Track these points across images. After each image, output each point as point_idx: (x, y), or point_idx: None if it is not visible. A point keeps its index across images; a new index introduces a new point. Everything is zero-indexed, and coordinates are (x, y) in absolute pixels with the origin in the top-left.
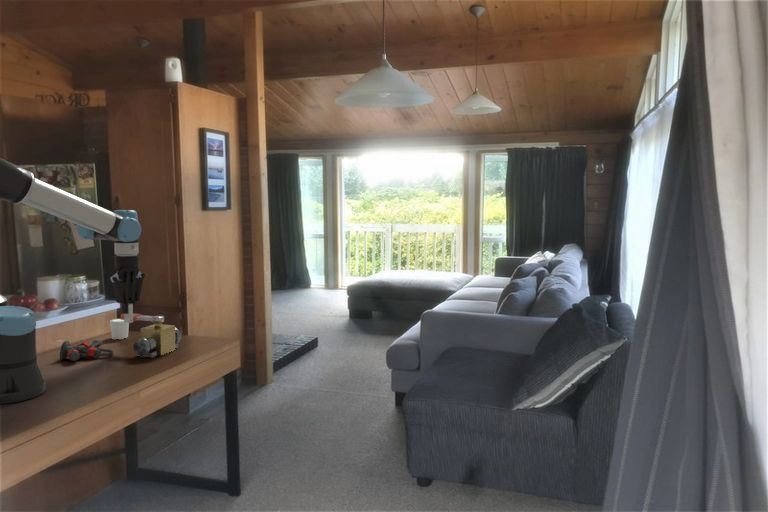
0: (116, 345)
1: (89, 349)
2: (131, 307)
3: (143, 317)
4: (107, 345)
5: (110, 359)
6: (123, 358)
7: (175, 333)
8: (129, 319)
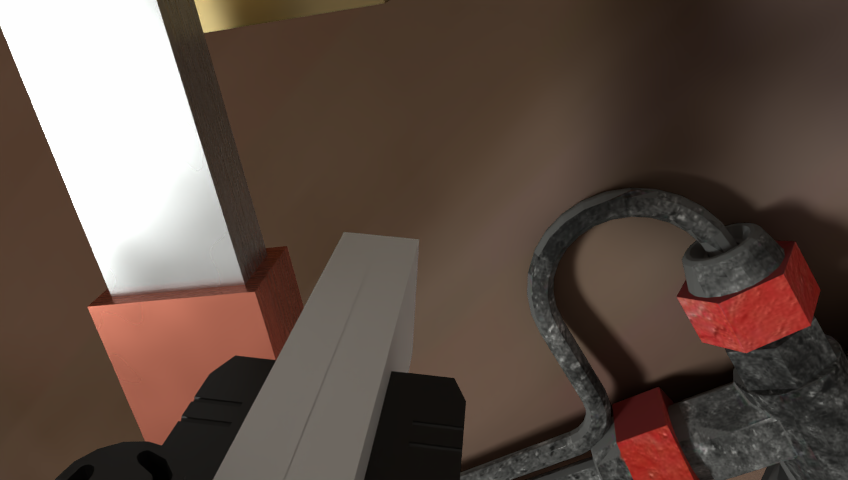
0: None
1: (808, 318)
2: (292, 417)
3: (194, 104)
4: None
5: (718, 97)
6: (641, 7)
7: None
8: (409, 270)
